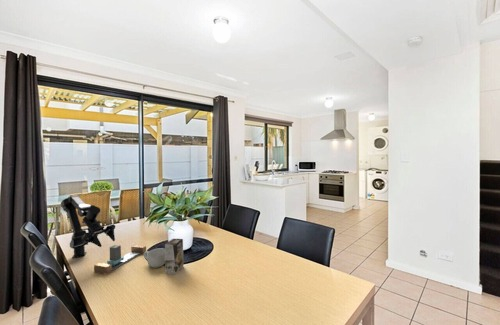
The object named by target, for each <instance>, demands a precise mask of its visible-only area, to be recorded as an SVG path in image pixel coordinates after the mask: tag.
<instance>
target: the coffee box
mask: <svg viewBox="0 0 500 325" xmlns="http://www.w3.org/2000/svg"><path fill="white" fill-rule="evenodd" d="M164 249H165V264H164V267H165V269H164V270H165V274H170V275H177V273H178V272H180V271H181V270H182V269H183V268H184V238H172V239H171V240H169V241H167V242H165V244H164Z"/></svg>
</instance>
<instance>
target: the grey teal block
mask: <svg viewBox="0 0 500 325" xmlns="http://www.w3.org/2000/svg"><path fill="white" fill-rule="evenodd" d="M122 260H124V257H122V246H121V245H120V244H114V245H112V246H110V247H109V260H107V261H106V264H112V265H115V264H117V263H119V262H120V261H122Z"/></svg>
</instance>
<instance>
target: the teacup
mask: <svg viewBox="0 0 500 325" xmlns="http://www.w3.org/2000/svg"><path fill="white" fill-rule="evenodd" d="M143 257H144V259H146V261H147V264H148V266H149V267H151V268H153V269H156V268H161V267H162V266H163V265H164V266H165V247H164V248H162V247H161V248H159V247H157V248H154V249H151V250H149V251H148V250H146V252H144V254H143Z"/></svg>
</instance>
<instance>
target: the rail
mask: <svg viewBox="0 0 500 325" xmlns="http://www.w3.org/2000/svg"><path fill="white" fill-rule="evenodd" d="M130 250H131V251H130V252H128V253H126V254H124V255H121V257H124V260H122V261H120V262H119V263H117V264H115V265H112V264H107V263H105V262H97V263H95V264H93V265H94V266H93V269H94V270H93V272H94V273H95V274H97V273H98V274H103V275H109V274H110V273H113V271H114V270H116V269H118V268H120V267H121V266H123V265H124V264H126V263H129V261H132V260H133V259H135V258H137V257H139V256H141V255H144V252H146V251H147V246H146V245H140V244H134V245H132V246H131V247H130Z"/></svg>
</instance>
